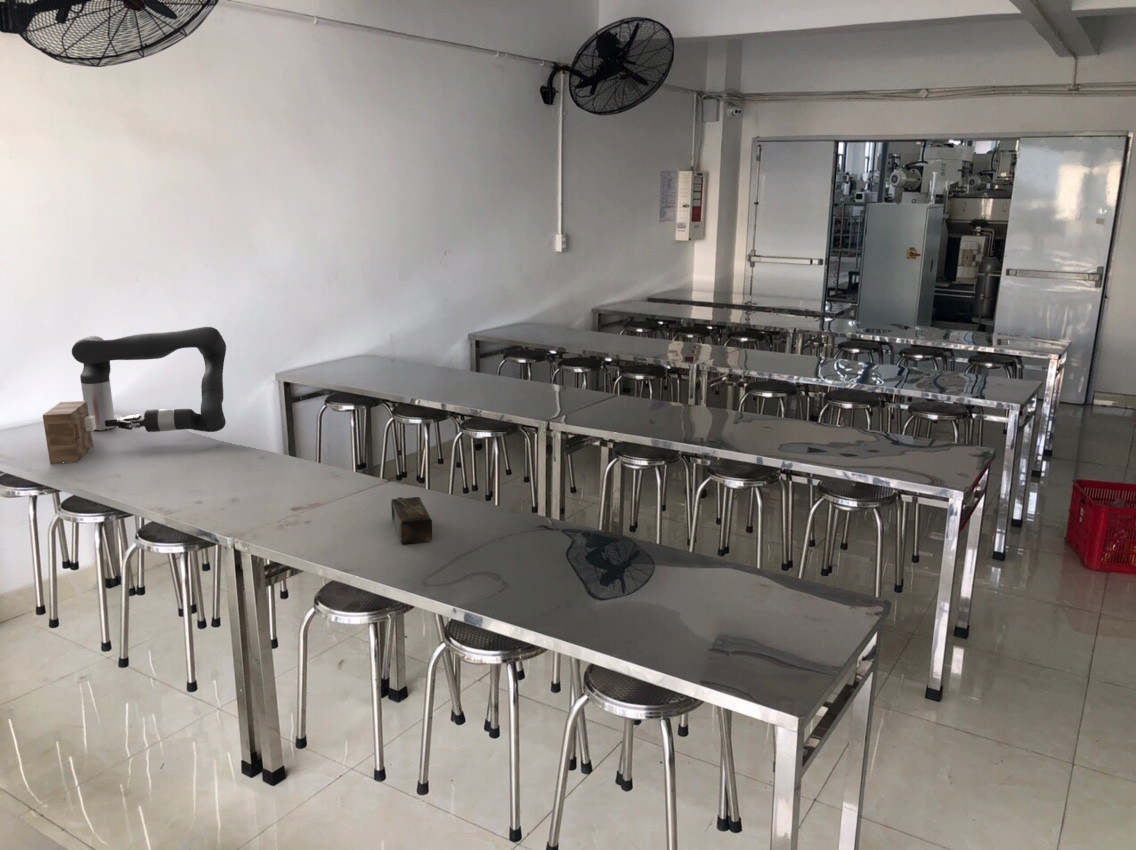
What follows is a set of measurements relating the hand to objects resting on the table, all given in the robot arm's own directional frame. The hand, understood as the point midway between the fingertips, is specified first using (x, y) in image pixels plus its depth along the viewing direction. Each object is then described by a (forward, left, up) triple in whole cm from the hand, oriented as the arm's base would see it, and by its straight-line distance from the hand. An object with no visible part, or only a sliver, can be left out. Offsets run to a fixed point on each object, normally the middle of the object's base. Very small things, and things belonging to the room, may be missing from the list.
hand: (105, 423), depth 298 cm
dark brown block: (+98, +94, -9) cm, 136 cm away
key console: (+6, -10, -9) cm, 14 cm away
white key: (0, -6, -2) cm, 6 cm away
